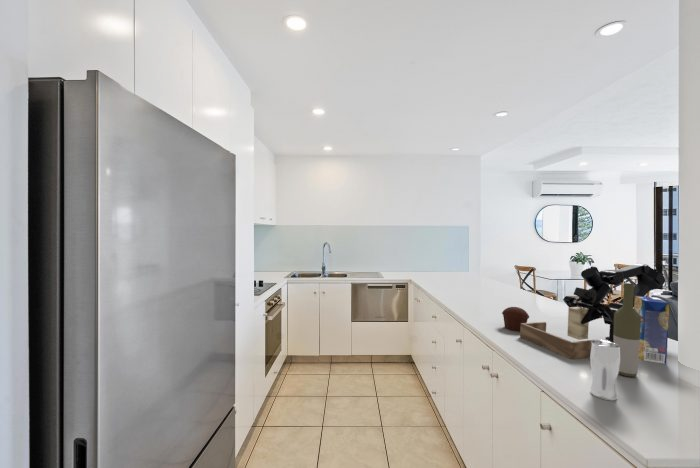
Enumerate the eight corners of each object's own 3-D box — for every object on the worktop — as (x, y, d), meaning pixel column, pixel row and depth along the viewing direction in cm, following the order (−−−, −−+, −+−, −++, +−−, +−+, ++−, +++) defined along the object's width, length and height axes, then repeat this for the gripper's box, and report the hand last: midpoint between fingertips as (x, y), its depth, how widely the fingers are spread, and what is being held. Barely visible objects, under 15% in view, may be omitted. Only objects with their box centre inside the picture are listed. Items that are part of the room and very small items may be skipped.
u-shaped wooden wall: (543, 335, 151) (544, 321, 151) (598, 356, 127) (599, 340, 127) (520, 337, 147) (520, 323, 147) (571, 359, 123) (572, 343, 123)
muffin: (530, 328, 161) (530, 307, 161) (527, 334, 152) (528, 312, 152) (503, 323, 167) (503, 303, 167) (499, 329, 158) (500, 308, 158)
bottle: (640, 380, 107) (645, 286, 106) (612, 374, 111) (616, 284, 110) (636, 372, 113) (640, 283, 112) (610, 367, 117) (613, 281, 116)
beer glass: (582, 389, 100) (584, 339, 100) (604, 389, 100) (606, 339, 100) (601, 401, 93) (604, 348, 93) (625, 401, 94) (627, 347, 93)
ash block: (576, 334, 143) (577, 306, 143) (587, 338, 138) (589, 309, 138) (567, 335, 142) (568, 307, 141) (578, 339, 137) (579, 310, 137)
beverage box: (654, 353, 131) (657, 297, 130) (666, 364, 121) (669, 303, 120) (632, 350, 134) (634, 295, 133) (642, 360, 124) (645, 300, 123)
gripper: (567, 277, 149) (546, 303, 147) (609, 285, 131) (586, 314, 129) (580, 294, 152) (559, 320, 149) (623, 304, 134) (601, 333, 131)
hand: (575, 321), depth 139 cm, fingers closed on ash block, 5 cm apart
